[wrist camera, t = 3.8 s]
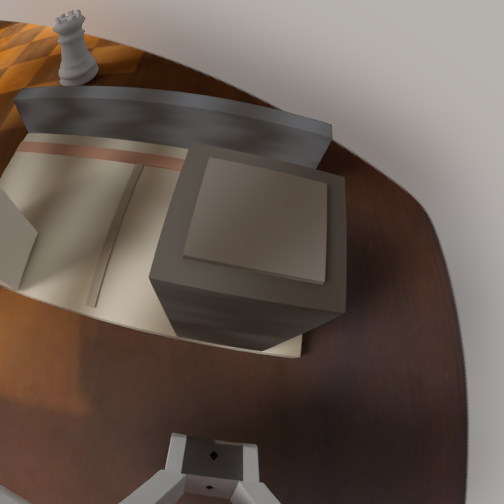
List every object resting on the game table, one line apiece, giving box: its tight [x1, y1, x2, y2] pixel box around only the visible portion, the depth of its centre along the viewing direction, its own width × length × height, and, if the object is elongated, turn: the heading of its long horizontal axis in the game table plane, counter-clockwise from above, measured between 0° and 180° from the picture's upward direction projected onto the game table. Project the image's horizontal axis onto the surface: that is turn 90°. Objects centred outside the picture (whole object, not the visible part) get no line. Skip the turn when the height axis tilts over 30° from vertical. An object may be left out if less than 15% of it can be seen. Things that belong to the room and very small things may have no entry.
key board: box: [0, 86, 332, 358], centre depth 16 cm, size 24×14×5 cm, turn 82°
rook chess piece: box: [53, 10, 99, 86], centre depth 20 cm, size 4×4×8 cm
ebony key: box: [148, 143, 347, 351], centre depth 12 cm, size 4×4×10 cm
